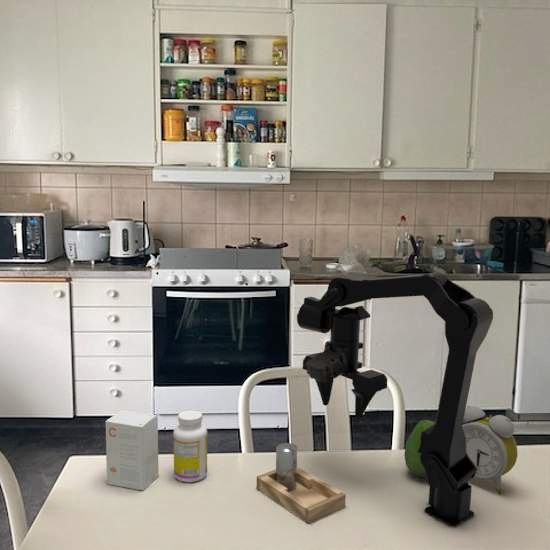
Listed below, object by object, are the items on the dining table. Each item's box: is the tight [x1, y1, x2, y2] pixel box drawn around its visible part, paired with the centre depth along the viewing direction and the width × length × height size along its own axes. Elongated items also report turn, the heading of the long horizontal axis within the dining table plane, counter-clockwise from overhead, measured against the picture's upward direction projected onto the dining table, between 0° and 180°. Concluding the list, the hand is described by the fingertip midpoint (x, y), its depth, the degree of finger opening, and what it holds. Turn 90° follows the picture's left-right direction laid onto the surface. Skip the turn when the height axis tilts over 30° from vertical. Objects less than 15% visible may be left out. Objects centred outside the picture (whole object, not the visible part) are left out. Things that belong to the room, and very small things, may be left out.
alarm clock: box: [462, 404, 519, 494], centre depth 121 cm, size 12×7×15 cm, turn 42°
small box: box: [104, 409, 160, 491], centre depth 118 cm, size 8×6×13 cm
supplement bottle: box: [172, 410, 208, 483], centre depth 120 cm, size 7×7×13 cm
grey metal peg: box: [275, 442, 298, 492], centre depth 116 cm, size 4×4×8 cm
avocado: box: [403, 419, 436, 479], centre depth 123 cm, size 8×8×12 cm
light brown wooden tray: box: [256, 465, 347, 525], centre depth 114 cm, size 15×9×2 cm, turn 39°
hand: (341, 411), depth 123 cm, fingers open, 9 cm apart
